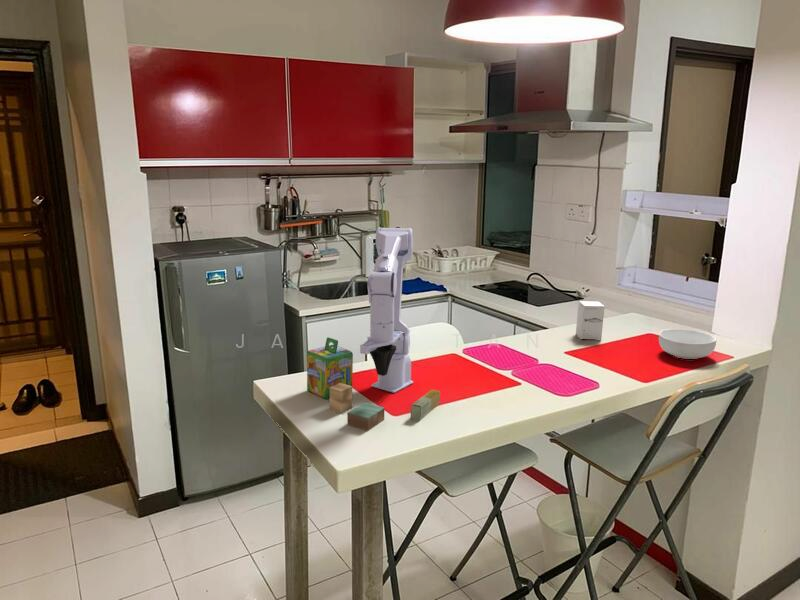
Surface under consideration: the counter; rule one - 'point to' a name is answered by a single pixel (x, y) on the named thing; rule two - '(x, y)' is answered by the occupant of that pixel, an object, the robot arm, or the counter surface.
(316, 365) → the chalk box
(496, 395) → the counter surface
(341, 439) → the counter surface
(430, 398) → the medication box
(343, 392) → the oak block
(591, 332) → the supplement box
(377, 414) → the walnut block
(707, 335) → the cereal bowl
